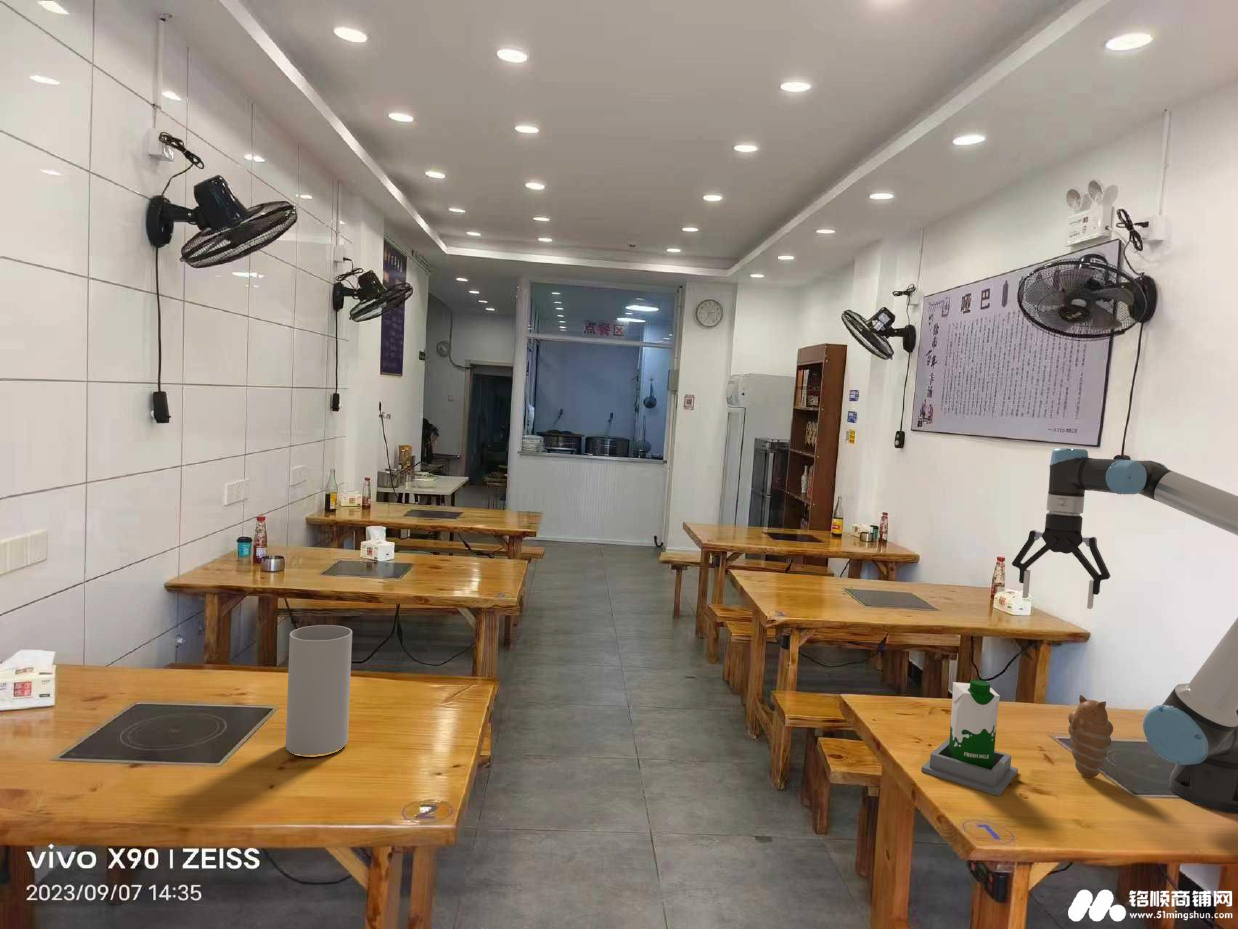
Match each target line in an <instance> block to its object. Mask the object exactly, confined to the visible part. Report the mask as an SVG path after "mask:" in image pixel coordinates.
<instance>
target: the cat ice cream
mask: <svg viewBox="0 0 1238 929" xmlns="http://www.w3.org/2000/svg"><path fill="white" fill-rule="evenodd" d="M1078 699H1079V704H1078V706H1077V708H1076V709H1075V710H1072V711H1071V712H1069V715H1068V717H1067V720H1068V723H1069V725H1068V728H1067V730H1068V734H1069V735H1070V737H1069V744H1070V746H1071V754H1072V757H1073V758H1074V761H1075V762H1074V765H1075V768H1076V770H1077V771H1078V773H1079V774H1080V775H1081V776H1083V777H1087V778H1095V777H1097V776H1098V775H1099V774H1100V772H1101V769H1102V767H1103V766H1104V764H1105V759H1106V757H1108V756H1107V755H1108V749H1109V748H1110V746H1111V745H1112V738H1111V736H1112V734H1113V733H1114V725H1113V724H1112V722H1111V721H1110V720H1109V716H1108V712H1107V709H1106V707H1107V701H1097V700H1094V699H1087V698H1085V696H1083V695H1082V694H1079V698H1078Z"/></svg>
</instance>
